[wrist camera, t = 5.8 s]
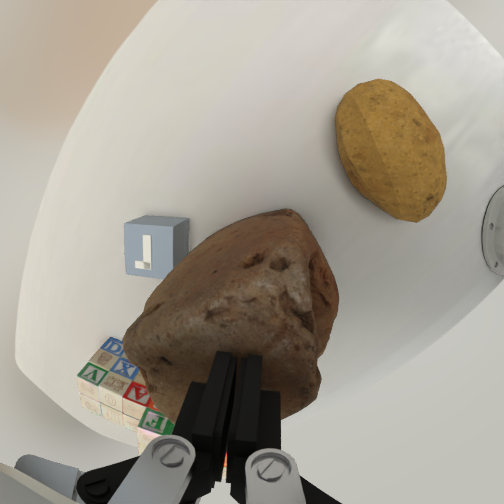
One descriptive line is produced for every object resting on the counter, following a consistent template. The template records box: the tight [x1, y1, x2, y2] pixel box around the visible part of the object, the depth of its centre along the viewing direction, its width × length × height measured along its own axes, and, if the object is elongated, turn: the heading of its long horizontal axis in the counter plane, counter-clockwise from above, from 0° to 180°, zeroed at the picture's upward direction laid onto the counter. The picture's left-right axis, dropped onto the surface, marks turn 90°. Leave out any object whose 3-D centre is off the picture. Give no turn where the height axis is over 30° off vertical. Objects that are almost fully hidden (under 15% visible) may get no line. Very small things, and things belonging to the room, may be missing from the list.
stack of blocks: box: [77, 337, 227, 479], centre depth 29 cm, size 21×6×12 cm, turn 74°
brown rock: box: [123, 209, 339, 425], centre depth 20 cm, size 11×8×20 cm
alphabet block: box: [124, 215, 189, 279], centre depth 27 cm, size 5×5×5 cm
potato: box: [335, 79, 447, 223], centre depth 21 cm, size 10×13×9 cm
